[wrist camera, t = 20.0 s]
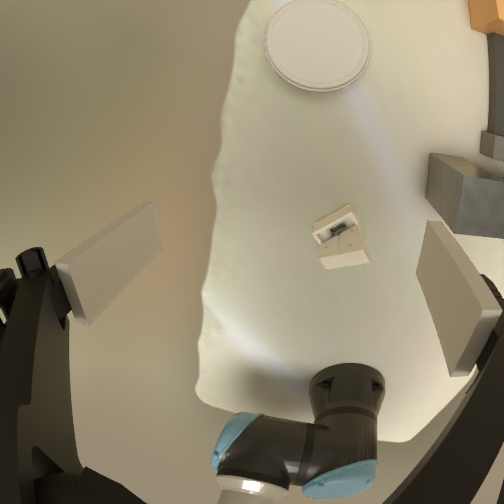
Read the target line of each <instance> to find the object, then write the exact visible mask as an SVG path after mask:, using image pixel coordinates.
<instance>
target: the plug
mask: <svg viewBox="0 0 504 504" xmlns="http://www.w3.org/2000/svg"><path fill="white" fill-rule="evenodd" d="M468 4H469V11H470V19H471V28H472V29H473V30H476V31H479V32H482V33H485V34H487V40H488V54H489V119H488V132H486V131H482V134H481V145H480V153H482V154H484V155H487V156H489V157H491V158H493V159H496V160H501V161H504V0H468Z"/></svg>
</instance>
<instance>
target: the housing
mask: <svg viewBox="0 0 504 504" xmlns="http://www.w3.org/2000/svg"><path fill="white" fill-rule="evenodd" d="M425 198H426V199H427V200H428V201H429V202H430V204H431V205H432V206H433V207H434V208H435V210H436V211H437V212H438V213H439V215H440V216H441V217H442V219H443V220H444V221H445V222H446V224H447V225H448V226H449V228H450V229H451V230H452V232H453V233H454V234H464V235H473V236H483V237H492V238H501V239H504V179H503V178H498V177H494V176H493V175H491V174H489V173H488V172H486V171H485V170H483V169H481V168H479V167H478V166H476V165H474V164H473V163H471V162H469V161H467V160H466V159H464V158H460V157H454V156H448V155H441V154H434V153H430V157H429V168H428V178H427V187H426V195H425Z"/></svg>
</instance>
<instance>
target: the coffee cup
mask: <svg viewBox="0 0 504 504" xmlns="http://www.w3.org/2000/svg"><path fill="white" fill-rule="evenodd" d="M264 44H265V51H266V54H267V57H268V60H269V62H270V63H271V65H272V67H273V68H274V70H275V71H276V72H277V73H278V74H279V75H280V76H281V77H282V78H283V79H285V80H286V81H287V82H289V83H291V84H292V85H294V86H296V87H299V88H302V89H305V90H309V91H315V92H328V91H334V90H338V89H341V88H344V87H346V86H348V85H350V84H352V83H353V82H354V81H356V80H357V79H358V78H359V77H360V76H361V75H362V74H363V72H364V71H365V69H366V67H367V65H368V63H369V60H370V56H371V39H370V35H369V32H368V30H367V27H366V26H365V24H364V22H363V21H362V20H361V18H360V17H359V16H358V15H357V14H356V13H355V12H354V11H353V10H351V9H350V8H349V7H347V6H346V5H344V4H342V3H340V2H338V1H335V0H294V1H292V2H289V3H287V4H286V5H284V6H283V7H281V8H280V9H279V10H278V11H277V12H276V13H275V14H274V15H273V16H272V18H271V19H270V21H269V23H268V25H267V28H266V32H265V38H264Z"/></svg>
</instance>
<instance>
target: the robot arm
mask: <svg viewBox="0 0 504 504" xmlns="http://www.w3.org/2000/svg"><path fill="white" fill-rule="evenodd" d="M162 250H163V247H162V241H161V235H160V228H159V221H158V215H157V207H156V202H155V201H154V202H153V201H143V202H141V203H140V204H139V205H137V206H135V207H134V208H132V209H130V210H129V211H127V212H126V213H124V214H123V215H121V216H120V217H118V218H117V219H115V220H114V221H112V222H111V223H109V224H108V225H106V226H105V227H103V228H102V229H100V230H99V231H97V232H96V233H94V234H93V235H92V236H90V237H89V238H87V239H86V240H85V241H83V242H82V243H80V244H79V245H78V246H76V247H75V248H73V249H72V250H71V251H69V252H68V253H66V254H65V255H64V256H62V257H61V258H60V259H59V260H57V261H56V262H55V265H53V266H52V267H51V268H50V269H49V266H48V263H47V260H46V256H45V253H44V250H43V248H41V247H35V248H30V249H28V250H25V251H24V252H22V253H20V254H19V255H18V256H17V257H16V262H17V265H18V268H19V270H20V273H21V276H22V278H21V279H20V278H19V279H16V277H15V274H14V271H13V269H11V268H6V269H1V270H0V308H1V310H2V312H3V314H4V316H5V318H6V320H7V321H6V323H5V324H4V323H3V322H2V320H1V318H0V504H147V503H145V502H144V501H142V500H141V499H140V498H138V497H137V496H136V495H134V494H133V493H132V492H130V491H129V490H128V489H127V488H125V487H124V486H123V485H121V484H120V483H117V482H115V481H113V480H111V479H109V478H107V477H105V476H103V475H101V474H99V473H97V472H95V471H93V470H92V469H90V468H88V467H85V468H84V469H83V467H82V465H81V464H80V461H79V459H78V454H77V448H76V441H75V433H74V425H73V416H72V404H71V391H70V371H69V319H68V317H67V314H68V313H69V312H70V311H71V310H72V312H73V315H74V317H75V319H76V321H77V322H79V323H82V324H86V325H89V326H90V325H91V323H92V322H93V321H94V320H95V319H96V318H97V317H98V316H99V315H100V314H101V312H102V311H103V310H104V309H105V308H106V307H107V306H108V305H109V304H110V303H111V302H112V301H113V300H114V299H115V298H116V297H117V296H118V295H119V294H120V293H121V292H122V291H123V290H124V288H125V287H126V286H127V285H128V284H129V283H130V282H131V281H132V280H133V279H134V278H135V277H136V276H137V275H138V274H139V273H140V272H141V271H142V270H143V269H144V268H145V267H146V266H147V265H148V264H149V263H150V262H151V261H152V260H153V259H154V258H155V257H156V256H157V255H158V254H159V253H160V252H161V251H162ZM416 275H417V277H418V280H419V283H420V285H421V288H422V290H423V293H424V296H425V298H426V301H427V304H428V307H429V310H430V312H431V315H432V318H433V321H434V324H435V327H436V330H437V333H438V337H439V340H440V343H441V346H442V350H443V353H444V356H445V360H446V364H447V367H448V371H449V375H450V377H457V376H469V374H470V373H471V371H472V369H473V367H474V366H475V364H477V367H478V370H479V373H478V375H477V376H476V378H475V379H474V381H473V383H472V384H471V386H470V387H469V389H468V390H467V392H466V393H465V394H466V395H465V397H464V399H463V401H462V402H461V404H460V405H459V407H458V409H457V410H456V412H455V413H454V415H453V416H452V418H451V419H450V421H449V422H448V424H447V425H446V427H445V428H444V430H443V431H442V433H441V434H440V435H439V437H438V438H437V440H436V441H435V442H434V444H433V445H432V446H431V448H430V449H429V450H428V452H427V453H426V454H425V456H424V457H423V458H422V459H421V461H420V462H419V463H418V465H417V466H416V467H415V468H414V469H413V470H412V472H411V473H410V474H409V475H408V476H407V477H406V479H405V480H404V481H403V482H402V483H401V484H400V485H399V486H398V488H397V489H396V490H395V491H394V492H393V493H392V494H391V495H390V496H389V497H388V498H387V499H386V500H385V501H384V502H383V504H470V503H471V501H472V500H473V498H474V496H475V495H476V493H477V491H478V490H479V488H480V486H481V485H482V483H483V481H484V479H485V478H486V476H487V474H488V472H489V470H490V468H491V466H492V465H493V462H494V460H495V459H496V457H497V455H498V453H499V451H500V448H501V446H502V444H503V442H504V299H503V298H502V296H501V294H500V292H498V289H497V288H496V286H495V285H494V283H493V282H492V281H491V280H490V279H489V278H487V277H486V276H485V275H483V274H480V273H479V272H478V270H477V269H476V268H475V266H474V265H473V263H472V262H471V260H470V259H469V257H468V256H467V255H466V253H465V252H464V250H463V249H462V248H461V246H460V245H459V244H458V242H457V241H456V240H455V238H454V237H453V236H452V234H451V233H450V232H449V230H448V229H447V228H446V227H445V225H444V224H443V223H442V222H438V221H430V220H427V225H426V230H425V235H424V240H423V245H422V249H421V254H420V258H419V262H418V266H417V270H416ZM384 396H385V381H384V378H383V376H382V375H381V374H380V373H379V372H378V371H377V370H375V369H373V368H371V367H368V366H365V365H360V364H341V365H335V366H332V367H329V368H326V369H324V370H322V371H321V372H319V373H318V374H317V375H316V376H315V377H314V378H313V380H312V381H311V385H310V391H309V398H310V402H311V406H312V410H313V414H314V418H315V421H314V424H311V423H305V422H298V421H292V420H287V419H281V418H276V417H271V416H266V415H264V414H253V413H247V412H239V413H237V414H235V415H234V416H233V417H231V418H230V420H229V421H228V422H227V424H226V425H225V427H224V429H223V431H222V433H221V434H220V437H219V439H218V441H217V443H216V446H215V451H214V453H213V455H212V459H211V466H212V467H213V468H214V469H215V470H217V471H218V473H217V476H216V480H217V482H218V483H219V485H220V486H221V489H222V491H221V494H220V497H219V500H218V503H217V504H275V502H276V501H277V500H278V499H280V498H282V497H283V496H285V495H286V494H287V493H288V489H289V485H297V486H302V491H303V494H304V495H306V496H307V497H312V498H315V499H335V498H343V497H348V496H352V495H356V494H358V493H361V492H363V491H365V490H366V489H368V488H369V487H370V486H371V485H372V484H373V482H374V480H375V474H376V466H377V464H378V461H377V416H378V413H379V411H380V408H381V405H382V402H383V399H384ZM497 504H504V480H503V484H502V487H501V491H500V494H499V498H498V501H497Z"/></svg>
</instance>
